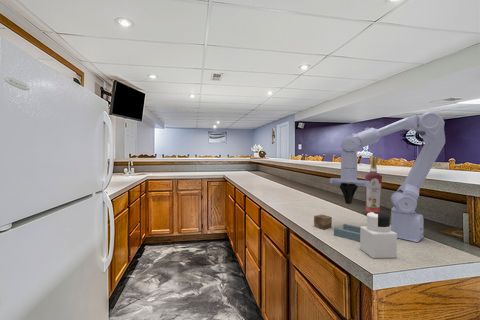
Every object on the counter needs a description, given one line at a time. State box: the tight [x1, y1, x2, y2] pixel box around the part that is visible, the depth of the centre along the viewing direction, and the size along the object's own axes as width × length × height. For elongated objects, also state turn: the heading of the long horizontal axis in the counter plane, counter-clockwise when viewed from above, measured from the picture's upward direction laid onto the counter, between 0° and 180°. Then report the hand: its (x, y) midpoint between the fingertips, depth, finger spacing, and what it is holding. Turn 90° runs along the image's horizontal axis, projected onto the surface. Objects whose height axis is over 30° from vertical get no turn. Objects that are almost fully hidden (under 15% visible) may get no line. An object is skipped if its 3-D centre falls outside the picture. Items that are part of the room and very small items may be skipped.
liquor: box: [364, 156, 383, 215], centre depth 119 cm, size 7×7×28 cm
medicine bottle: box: [359, 211, 398, 259], centre depth 74 cm, size 7×7×12 cm
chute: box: [333, 223, 361, 243], centre depth 90 cm, size 10×8×2 cm
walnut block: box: [313, 213, 333, 231], centre depth 100 cm, size 5×4×4 cm
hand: (348, 203), depth 96 cm, fingers closed
